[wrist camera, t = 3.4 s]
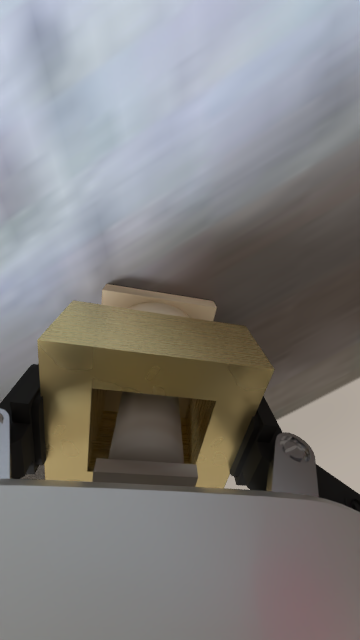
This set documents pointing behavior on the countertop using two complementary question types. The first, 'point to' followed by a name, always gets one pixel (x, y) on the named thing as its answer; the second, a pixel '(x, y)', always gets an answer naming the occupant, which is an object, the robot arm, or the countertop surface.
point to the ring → (146, 384)
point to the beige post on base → (149, 407)
